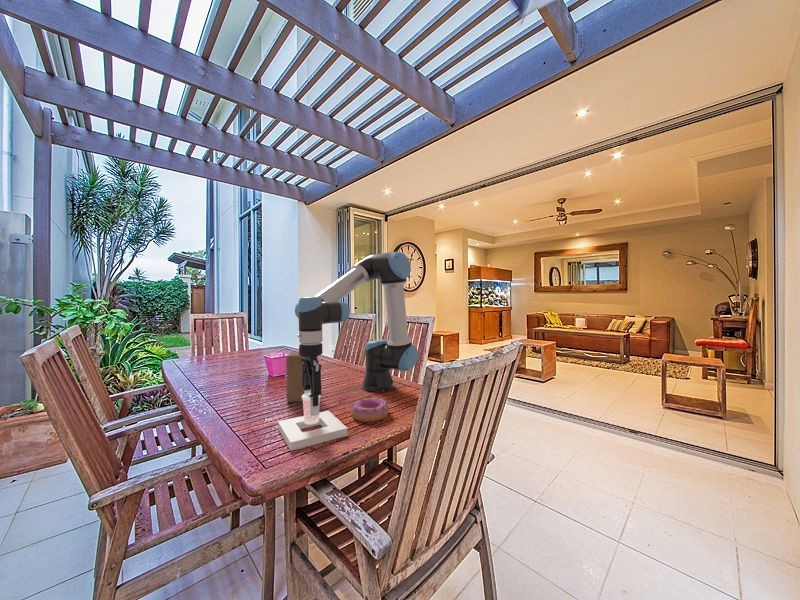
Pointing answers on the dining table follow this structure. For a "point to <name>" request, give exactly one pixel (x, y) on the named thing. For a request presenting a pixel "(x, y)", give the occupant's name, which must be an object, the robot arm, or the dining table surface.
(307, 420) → the beverage cup
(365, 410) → the donut
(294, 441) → the socket plate
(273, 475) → the dining table surface
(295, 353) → the wooden block
